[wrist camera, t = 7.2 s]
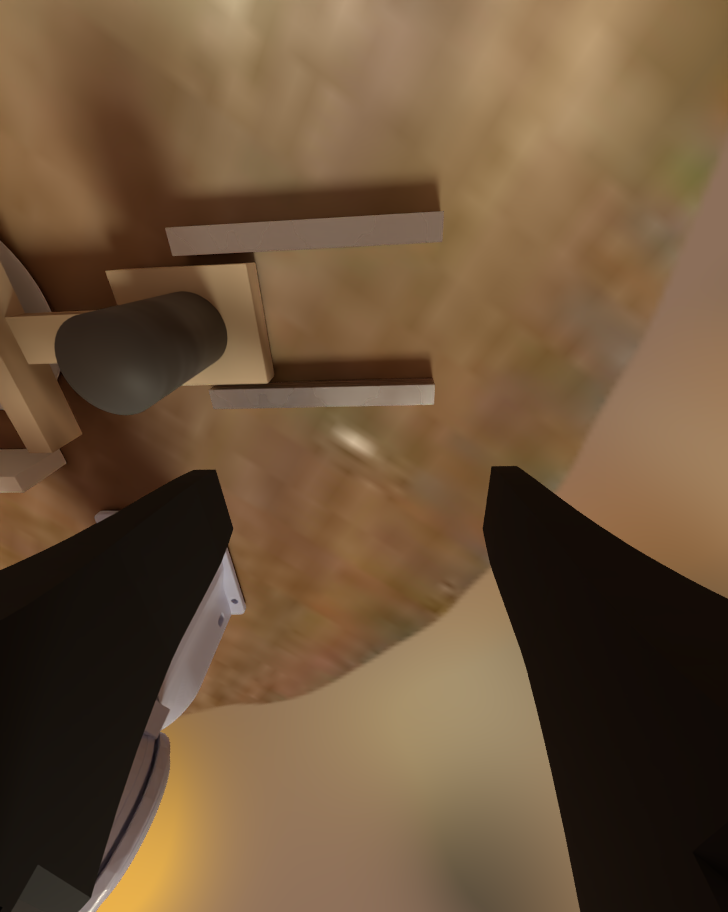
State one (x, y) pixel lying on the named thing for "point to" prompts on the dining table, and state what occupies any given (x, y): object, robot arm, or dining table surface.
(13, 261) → the teacup
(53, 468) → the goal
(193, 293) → the pushrod
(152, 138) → the dining table surface
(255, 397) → the rail
